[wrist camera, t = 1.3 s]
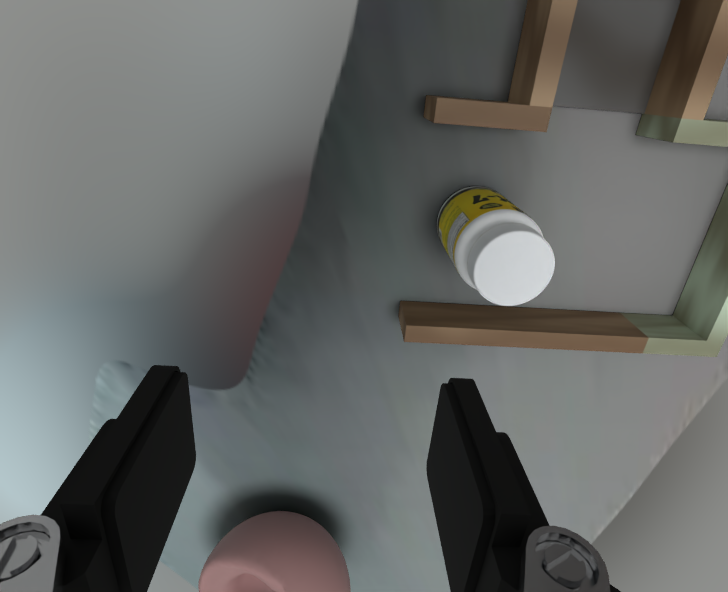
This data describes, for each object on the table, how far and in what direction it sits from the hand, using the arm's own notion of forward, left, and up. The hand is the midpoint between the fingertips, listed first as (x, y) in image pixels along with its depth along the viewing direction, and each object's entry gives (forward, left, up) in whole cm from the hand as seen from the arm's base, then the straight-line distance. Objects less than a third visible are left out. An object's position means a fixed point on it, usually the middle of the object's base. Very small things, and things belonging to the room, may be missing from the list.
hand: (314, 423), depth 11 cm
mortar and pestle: (+29, -3, -20) cm, 36 cm away
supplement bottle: (0, +9, -20) cm, 22 cm away
